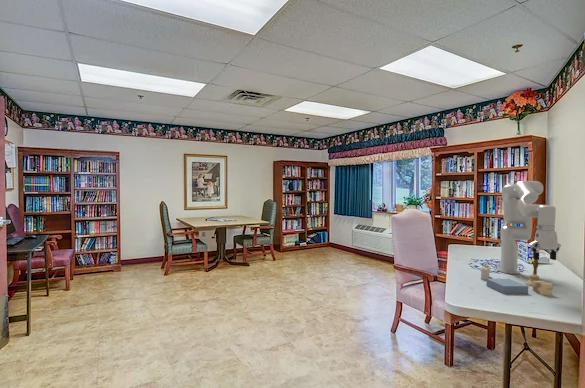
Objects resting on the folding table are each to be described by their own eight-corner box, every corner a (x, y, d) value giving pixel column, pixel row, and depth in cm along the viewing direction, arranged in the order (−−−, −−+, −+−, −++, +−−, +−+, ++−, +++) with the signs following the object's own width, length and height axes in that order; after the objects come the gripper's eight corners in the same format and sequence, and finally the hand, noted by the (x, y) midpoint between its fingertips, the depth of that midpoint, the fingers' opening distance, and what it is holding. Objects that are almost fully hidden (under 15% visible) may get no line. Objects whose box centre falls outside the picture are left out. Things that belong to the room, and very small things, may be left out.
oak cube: (532, 291, 180) (533, 280, 180) (542, 291, 181) (543, 280, 181) (541, 295, 174) (542, 284, 174) (552, 295, 175) (552, 284, 175)
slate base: (486, 285, 189) (486, 278, 189) (509, 285, 190) (509, 278, 190) (503, 293, 175) (503, 286, 175) (528, 293, 176) (528, 286, 176)
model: (481, 279, 202) (481, 267, 202) (483, 276, 211) (483, 264, 211) (487, 280, 201) (487, 268, 200) (489, 277, 209) (489, 265, 209)
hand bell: (540, 284, 195) (542, 257, 195) (544, 287, 188) (546, 260, 187) (524, 282, 199) (525, 256, 198) (527, 285, 191) (528, 258, 191)
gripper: (536, 228, 172) (535, 260, 173) (567, 229, 174) (565, 261, 174) (525, 227, 180) (524, 257, 180) (554, 227, 181) (553, 258, 181)
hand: (544, 259), depth 177 cm, fingers open, 9 cm apart
